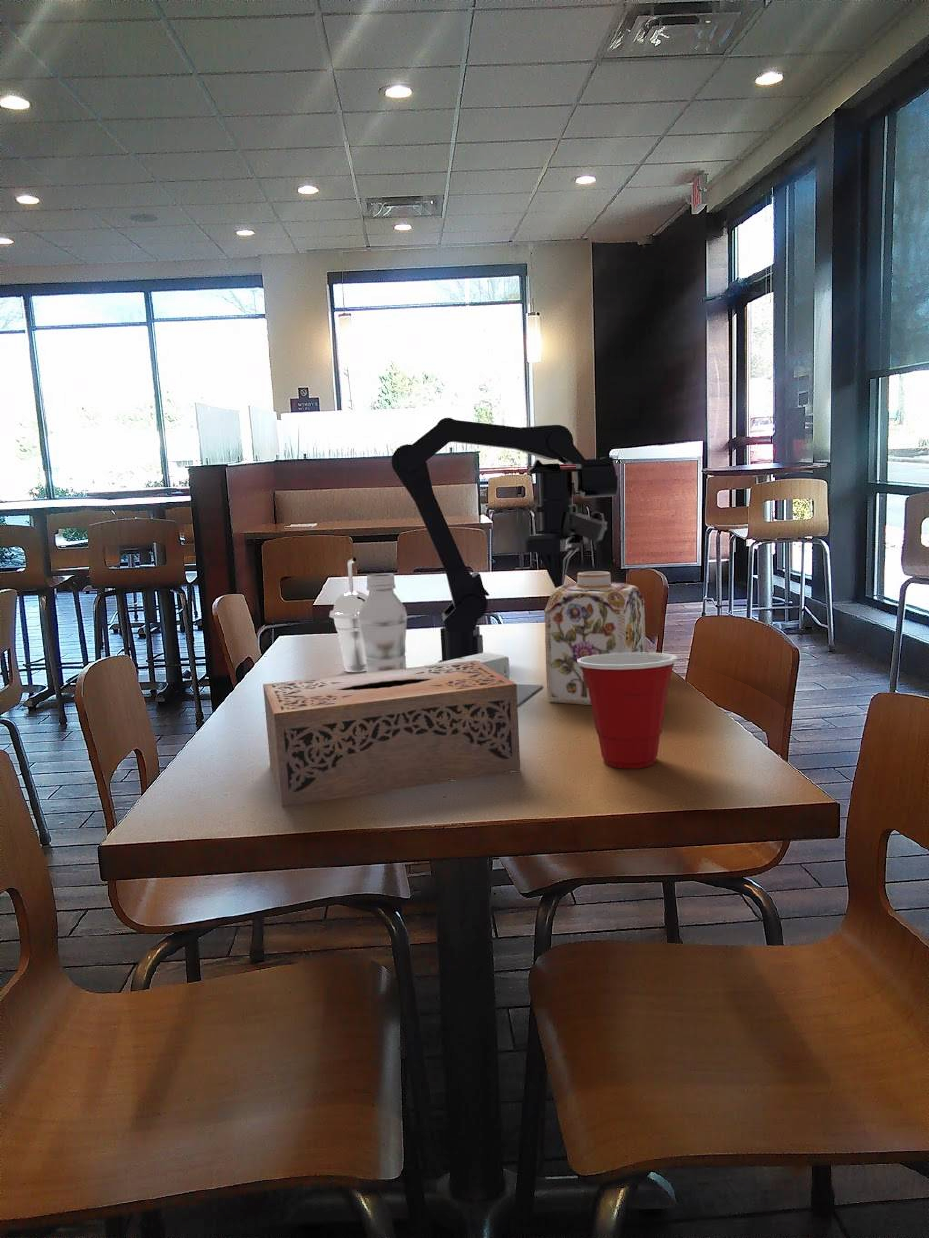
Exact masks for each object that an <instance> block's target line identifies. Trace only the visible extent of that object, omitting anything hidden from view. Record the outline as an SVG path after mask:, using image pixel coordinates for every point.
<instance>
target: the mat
mask: <svg viewBox="0 0 929 1238" xmlns="http://www.w3.org/2000/svg"><path fill="white" fill-rule="evenodd" d="M516 684H517V705H518V707H519V706H521V705H522V704H523V703H524V702H526V701H527V700H528V699H529V698H531V697H532V696H534V695H535V694H536V693H538V692H539V691H540V690H541V689H543V688H544V685H543V684H526V683H525V684H523V683H516Z"/></svg>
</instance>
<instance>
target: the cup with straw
mask: <svg viewBox="0 0 929 1238" xmlns="http://www.w3.org/2000/svg"><path fill="white" fill-rule="evenodd" d="M355 562H357V558H356V557H353V558H351V559H349V560H348V561H347V573H348V575H347V577H348V584H349V585H348V587H349V588H348V590H349V591H346V592H344V593H342V594H340V595H339V596H338V597H337V598H336V600H335V602H334V605H333V609H332V610H330V611H329V615H328V616H329V618H331V619H333V622H334V626H335V630H336V632H337V637H338V641H339V647H340V651H341V657H342V664H343V666H344V668H345V669H344V671H345V672H346V673H365V672H367V664H366V656H365V648H364V642H363V637H362V633H361V628H360V624H359V612H360V609H361V607H362V605H363V603H364V601H365V600H366V598H367V597H368V595H367V594H365V593H364V592H361V591H359V590H357V591H356V590H354V580H353V579H354V577H353V566H352V564H354V563H355Z"/></svg>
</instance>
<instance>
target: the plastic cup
mask: <svg viewBox="0 0 929 1238" xmlns="http://www.w3.org/2000/svg"><path fill="white" fill-rule="evenodd" d="M677 660H678V657H677V656H676V655H675V654H671V653H667V652H665V653H664V652H650V651H649V652H629V653H610V654H600V655H593V656H587V657H583V658H580V659H577V662H578V665H579V666H581V669H582V672H583V674H584V678H585V679H586V684H587V688H588V690H589V695H590V701H591V705H590V706H591V710H592V711H591V712H592V715H593V720H594V726H595V730H596V734H597V737H598V742H599V747H600V752H601V756H602V757H601V758H602V759H603V763H604V764H605V765H607V766H609V767H613V768H617V769H625V770H626V769H628V770H629V769H631V770H634V769H635V770H636V769H637V770H638V769H641V768H644V769H645V768H648V767H650V766H652V765H654V763H656V759H657V757H658V752H659V745H660V737H661V734H662V729H663V723H664V716H665V710H666V702H667V697H668V689H669V686H670V682H671V676H672V674H673V673H672V672H673V668H674V665H675V663H676V662H677Z"/></svg>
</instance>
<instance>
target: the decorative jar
mask: <svg viewBox="0 0 929 1238" xmlns="http://www.w3.org/2000/svg"><path fill="white" fill-rule="evenodd" d="M576 578H577V581H576V582H573V583H568V584H564V585H563V586H560V587H557V588H554V589H553V590H551V594H550V597H549V599H548V602H547V604H546V606H545V609H544V610H543V612H544V629H545V630H544V631H545V633H544V636H545V637H544V638H545V640H544V641H545V643H544V644H545V671H546V672H545V673H546V674H545V675H546V676H545V677H546V695H547V700H548V702H549V703H554V704H555V703H557V704H567V705H570V704H571V705H581V706H583V705H584V706H591V701H590V695H589V690H588V688H587V684H586V679H585V678H584V674H583V672H582V669H581V666H579V665H578V662H577V659H580V658H583V657H587V656H593V655H600V654H610V653H629V652H646V623H645V622H646V620H645V619H646V618H645V616H646V615H645V603H646V601H645V599H644V598H643V596H642V594H641V592H640V591H641V590H639V588H638V586H636V585H634V584H633V585H632V584H629V583H623V582H612V579H611V578H612V577H611V572H609V571H601V570H598V571H597V570H596V571H595V570H594V571H582V572H580V571H579V572H578V573H577V577H576Z"/></svg>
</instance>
